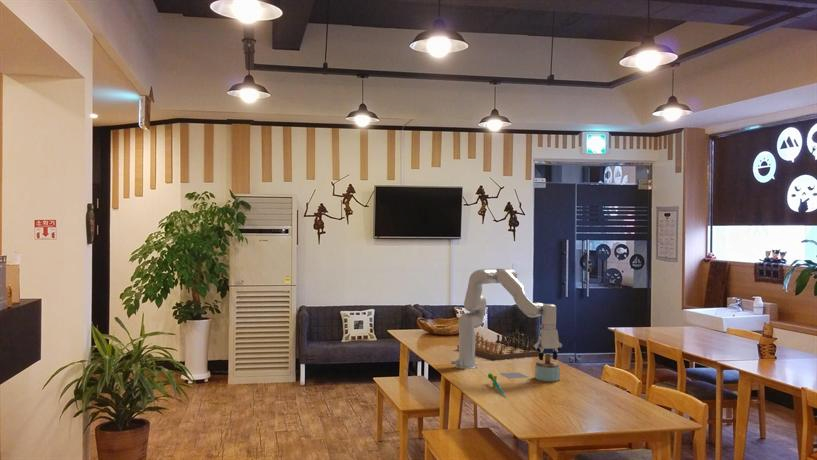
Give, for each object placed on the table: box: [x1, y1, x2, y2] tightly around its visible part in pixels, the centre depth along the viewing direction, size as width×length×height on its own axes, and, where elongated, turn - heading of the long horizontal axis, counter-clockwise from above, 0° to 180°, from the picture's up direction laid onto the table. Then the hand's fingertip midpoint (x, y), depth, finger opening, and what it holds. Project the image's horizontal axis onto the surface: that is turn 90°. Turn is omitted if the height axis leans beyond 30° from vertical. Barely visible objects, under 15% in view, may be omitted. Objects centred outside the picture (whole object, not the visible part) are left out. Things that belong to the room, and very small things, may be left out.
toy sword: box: [487, 372, 506, 398], centre depth 341 cm, size 3×6×30 cm
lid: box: [535, 353, 560, 368], centre depth 367 cm, size 12×12×6 cm
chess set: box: [457, 328, 545, 361], centre depth 446 cm, size 40×40×15 cm
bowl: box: [534, 363, 561, 383], centre depth 367 cm, size 13×13×8 cm
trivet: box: [499, 372, 528, 379], centre depth 374 cm, size 12×12×1 cm
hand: (547, 359), depth 367 cm, fingers open, 7 cm apart
